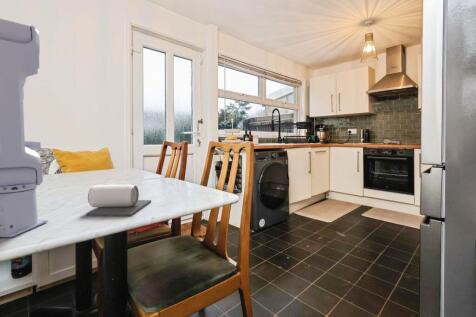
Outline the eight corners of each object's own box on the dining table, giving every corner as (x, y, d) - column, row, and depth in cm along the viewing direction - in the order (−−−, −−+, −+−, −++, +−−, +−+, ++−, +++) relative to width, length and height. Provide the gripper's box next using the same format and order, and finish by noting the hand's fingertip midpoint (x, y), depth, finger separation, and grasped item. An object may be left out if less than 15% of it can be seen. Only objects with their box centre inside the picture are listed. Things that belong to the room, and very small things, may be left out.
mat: (131, 216, 63) (131, 213, 63) (86, 215, 63) (86, 213, 63) (151, 201, 77) (151, 200, 77) (114, 201, 77) (114, 199, 77)
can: (87, 209, 66) (130, 208, 66) (87, 185, 66) (130, 184, 67) (99, 205, 72) (139, 204, 73) (99, 184, 73) (139, 183, 73)
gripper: (48, 125, 66) (51, 173, 68) (-3, 124, 66) (1, 172, 68) (25, 124, 59) (29, 178, 61) (-32, 123, 59) (-27, 176, 61)
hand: (12, 175), depth 64 cm, fingers closed
